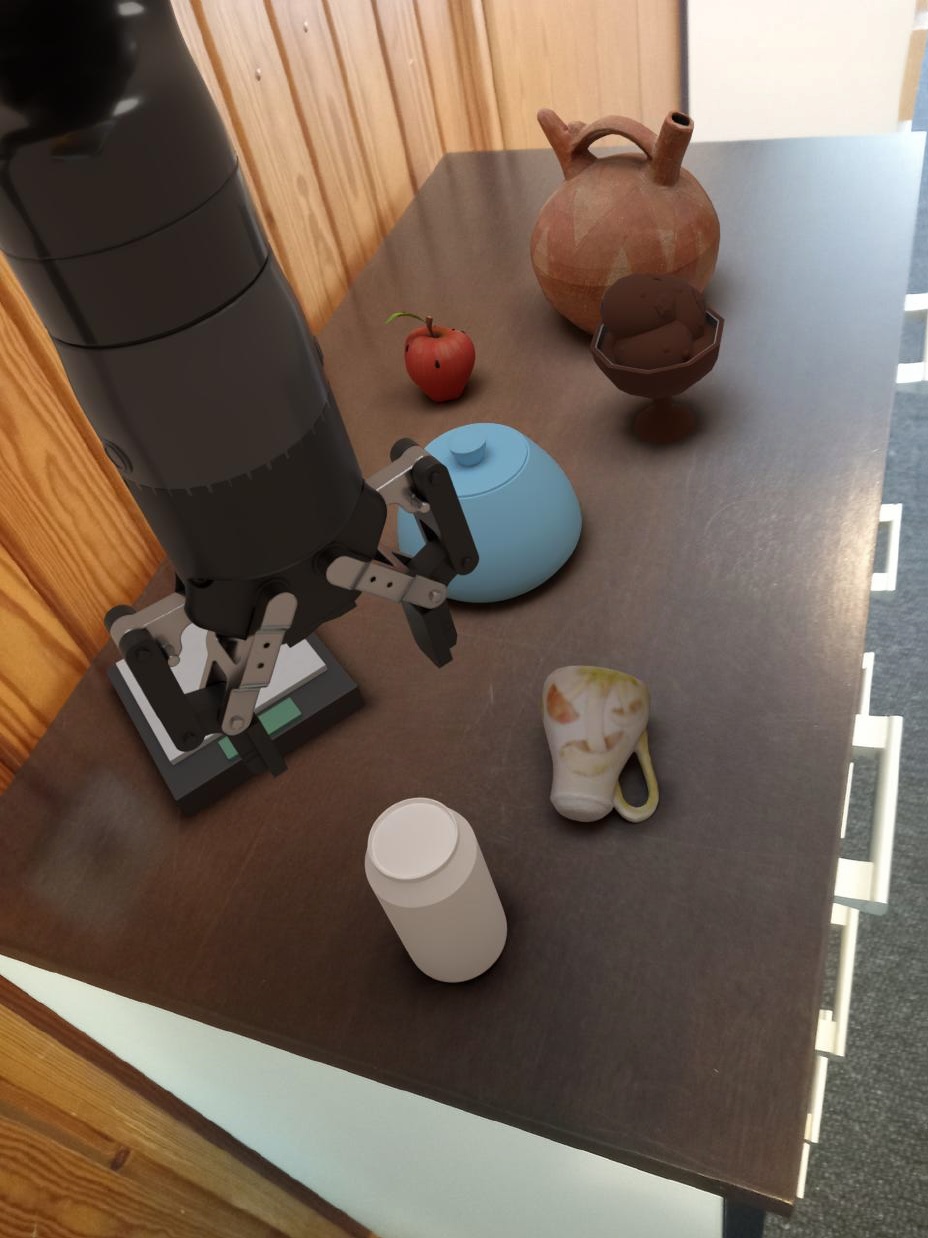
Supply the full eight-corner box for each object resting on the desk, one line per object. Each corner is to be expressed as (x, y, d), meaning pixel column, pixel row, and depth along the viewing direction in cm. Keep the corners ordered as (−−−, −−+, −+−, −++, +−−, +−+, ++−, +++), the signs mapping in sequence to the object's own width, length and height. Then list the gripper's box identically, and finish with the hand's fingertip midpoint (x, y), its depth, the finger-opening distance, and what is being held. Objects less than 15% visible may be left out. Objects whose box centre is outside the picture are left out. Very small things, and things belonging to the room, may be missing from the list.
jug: (508, 346, 106) (468, 153, 91) (593, 255, 114) (568, 66, 100) (673, 376, 96) (657, 166, 82) (752, 274, 105) (749, 69, 91)
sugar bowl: (443, 643, 80) (406, 534, 71) (383, 532, 90) (345, 426, 82) (617, 566, 81) (600, 451, 73) (539, 466, 92) (516, 355, 83)
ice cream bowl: (697, 475, 86) (688, 319, 76) (581, 449, 92) (557, 299, 81) (748, 401, 92) (746, 244, 81) (635, 380, 97) (618, 231, 86)
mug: (529, 842, 66) (493, 700, 64) (586, 771, 74) (555, 642, 72) (638, 847, 63) (604, 696, 60) (685, 771, 70) (657, 635, 68)
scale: (189, 819, 73) (171, 796, 71) (118, 689, 84) (101, 665, 82) (367, 705, 77) (355, 680, 75) (277, 594, 87) (265, 569, 85)
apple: (458, 364, 105) (435, 275, 98) (496, 389, 101) (475, 298, 94) (396, 399, 103) (368, 312, 96) (432, 427, 99) (406, 337, 92)
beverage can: (514, 892, 64) (476, 785, 56) (505, 990, 60) (462, 891, 51) (418, 892, 66) (366, 787, 57) (403, 987, 61) (345, 890, 53)
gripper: (344, 274, 38) (442, 580, 50) (-15, 463, 34) (181, 746, 46) (455, 346, 33) (535, 667, 45) (49, 575, 29) (251, 860, 41)
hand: (355, 707), depth 45 cm, fingers open, 8 cm apart
